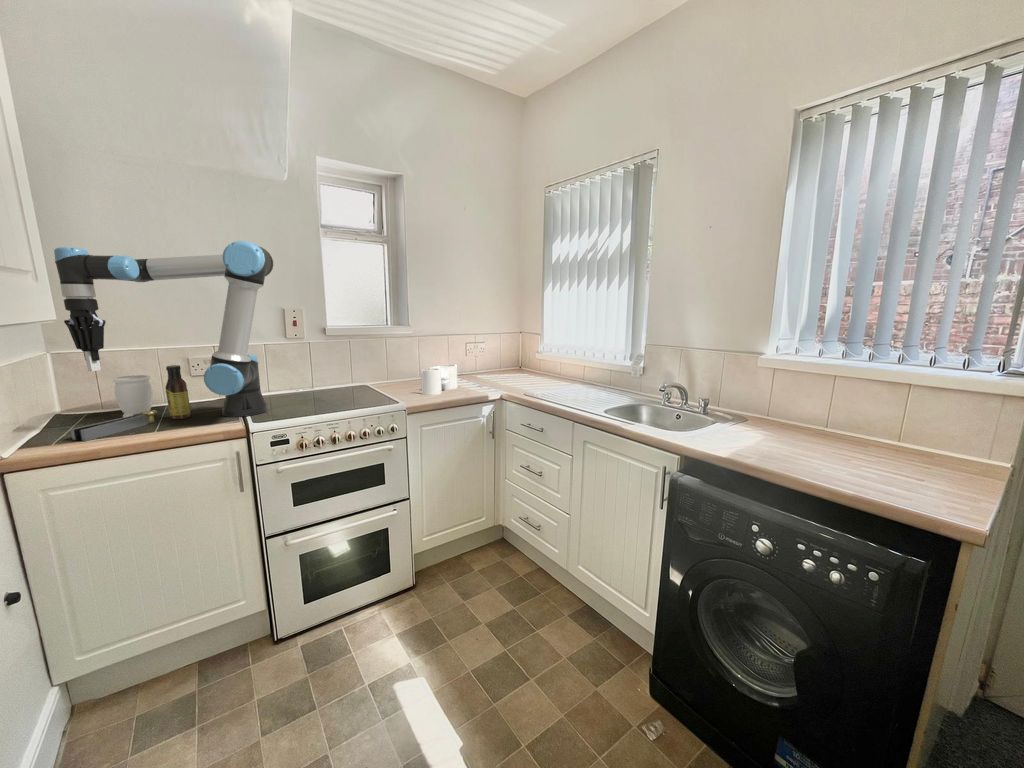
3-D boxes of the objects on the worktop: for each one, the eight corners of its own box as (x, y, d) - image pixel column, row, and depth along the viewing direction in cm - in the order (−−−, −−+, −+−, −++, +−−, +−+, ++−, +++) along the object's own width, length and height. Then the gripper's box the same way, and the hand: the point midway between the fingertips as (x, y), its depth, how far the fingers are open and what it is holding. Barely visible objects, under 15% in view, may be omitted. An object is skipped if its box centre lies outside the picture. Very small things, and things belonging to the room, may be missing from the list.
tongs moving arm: (152, 420, 152) (150, 409, 151) (160, 421, 151) (159, 410, 150) (72, 439, 130) (69, 427, 129) (81, 440, 129) (79, 428, 128)
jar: (163, 413, 162) (157, 375, 159) (137, 420, 152) (130, 380, 149) (138, 412, 163) (132, 374, 160) (111, 419, 153) (104, 379, 150)
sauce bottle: (173, 416, 157) (166, 364, 154) (193, 415, 160) (186, 364, 156) (167, 420, 151) (159, 367, 148) (187, 419, 154) (180, 366, 150)
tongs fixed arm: (151, 421, 151) (149, 411, 150) (157, 421, 150) (156, 412, 150) (78, 440, 129) (76, 429, 128) (85, 441, 128) (83, 430, 128)
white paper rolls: (436, 396, 198) (436, 371, 196) (419, 394, 202) (418, 370, 199) (460, 386, 221) (460, 364, 219) (444, 385, 225) (444, 363, 222)
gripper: (110, 298, 136) (123, 369, 140) (76, 298, 137) (90, 368, 142) (83, 297, 128) (98, 372, 133) (48, 298, 130) (64, 372, 135)
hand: (94, 370), depth 137 cm, fingers closed
